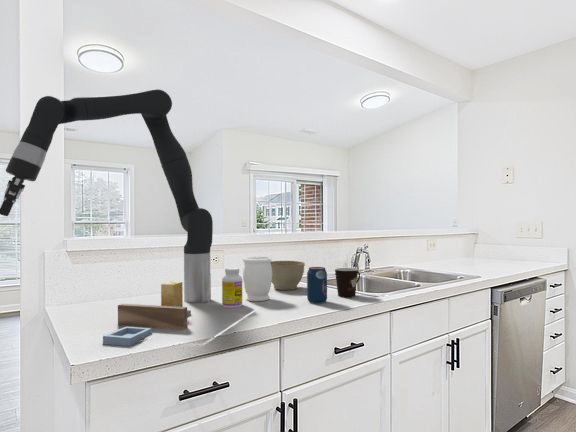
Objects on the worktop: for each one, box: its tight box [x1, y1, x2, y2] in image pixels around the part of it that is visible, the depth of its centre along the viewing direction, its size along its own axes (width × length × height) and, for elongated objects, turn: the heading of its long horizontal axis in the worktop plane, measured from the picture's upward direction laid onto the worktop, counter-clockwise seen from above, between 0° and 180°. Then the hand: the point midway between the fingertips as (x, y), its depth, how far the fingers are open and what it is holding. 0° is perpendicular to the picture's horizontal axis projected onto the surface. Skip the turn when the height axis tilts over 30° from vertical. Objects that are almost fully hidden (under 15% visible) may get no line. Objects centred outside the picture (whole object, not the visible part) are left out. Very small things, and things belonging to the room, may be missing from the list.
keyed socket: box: [102, 326, 153, 347], centre depth 98 cm, size 8×8×2 cm
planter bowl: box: [270, 260, 306, 291], centre depth 167 cm, size 16×16×11 cm
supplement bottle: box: [221, 267, 243, 309], centre depth 132 cm, size 7×7×13 cm
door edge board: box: [117, 303, 188, 331], centre depth 107 cm, size 2×20×6 cm, turn 75°
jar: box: [242, 256, 273, 302], centre depth 145 cm, size 11×10×15 cm
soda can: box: [306, 266, 328, 305], centre depth 139 cm, size 7×7×12 cm
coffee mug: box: [334, 267, 361, 299], centre depth 150 cm, size 12×9×10 cm
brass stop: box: [160, 281, 184, 307], centre depth 117 cm, size 5×4×10 cm
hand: (3, 215), depth 110 cm, fingers open, 8 cm apart
